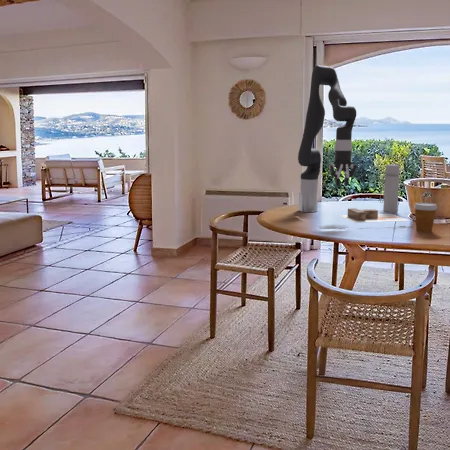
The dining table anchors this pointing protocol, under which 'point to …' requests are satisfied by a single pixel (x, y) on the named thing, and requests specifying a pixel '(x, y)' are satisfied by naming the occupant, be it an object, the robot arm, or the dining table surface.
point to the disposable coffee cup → (425, 216)
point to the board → (379, 218)
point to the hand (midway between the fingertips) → (341, 185)
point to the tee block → (362, 214)
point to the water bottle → (391, 188)
